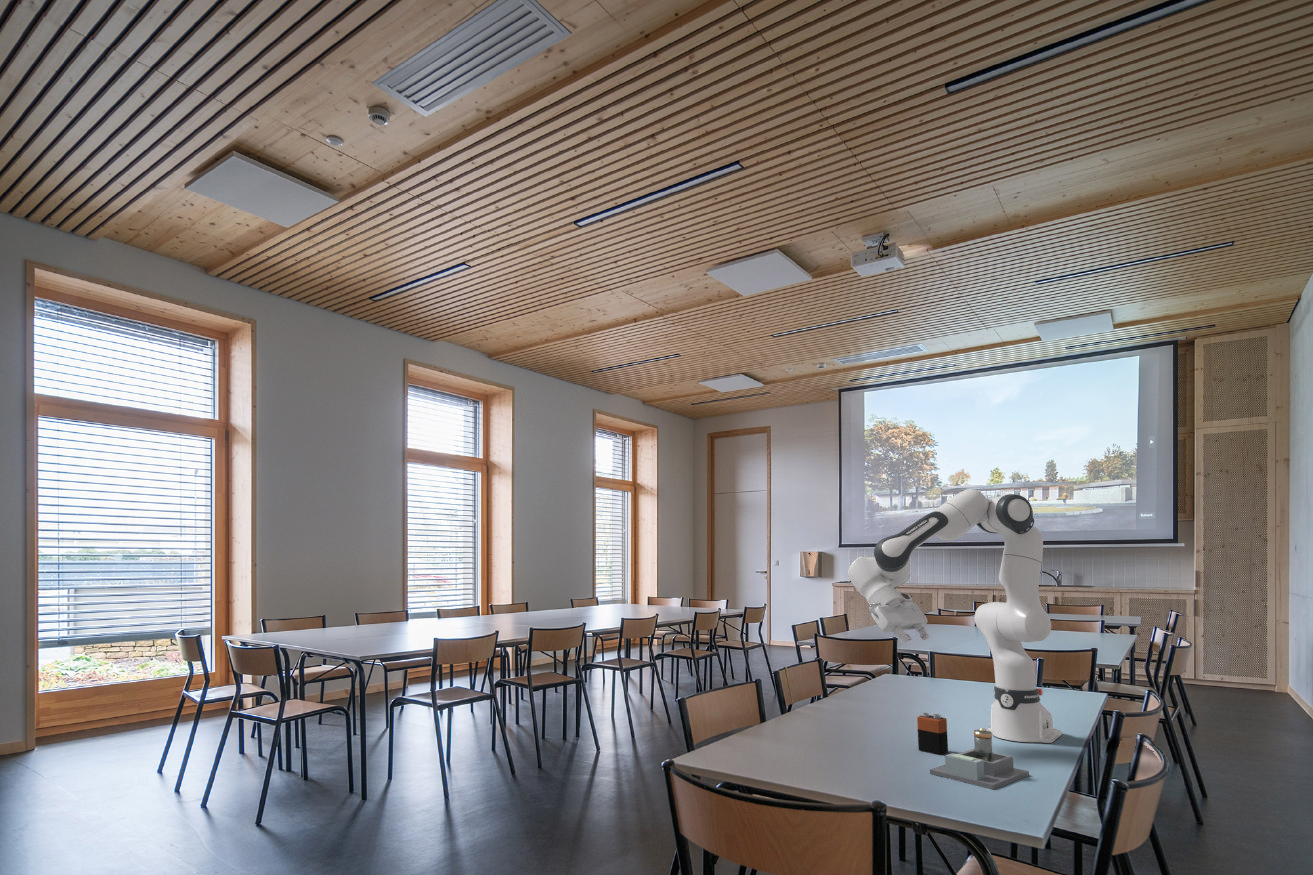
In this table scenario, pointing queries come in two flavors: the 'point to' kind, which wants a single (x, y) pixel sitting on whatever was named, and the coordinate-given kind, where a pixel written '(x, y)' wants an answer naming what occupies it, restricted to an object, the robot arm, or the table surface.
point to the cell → (983, 744)
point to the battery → (932, 733)
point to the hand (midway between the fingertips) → (917, 639)
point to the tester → (980, 769)
